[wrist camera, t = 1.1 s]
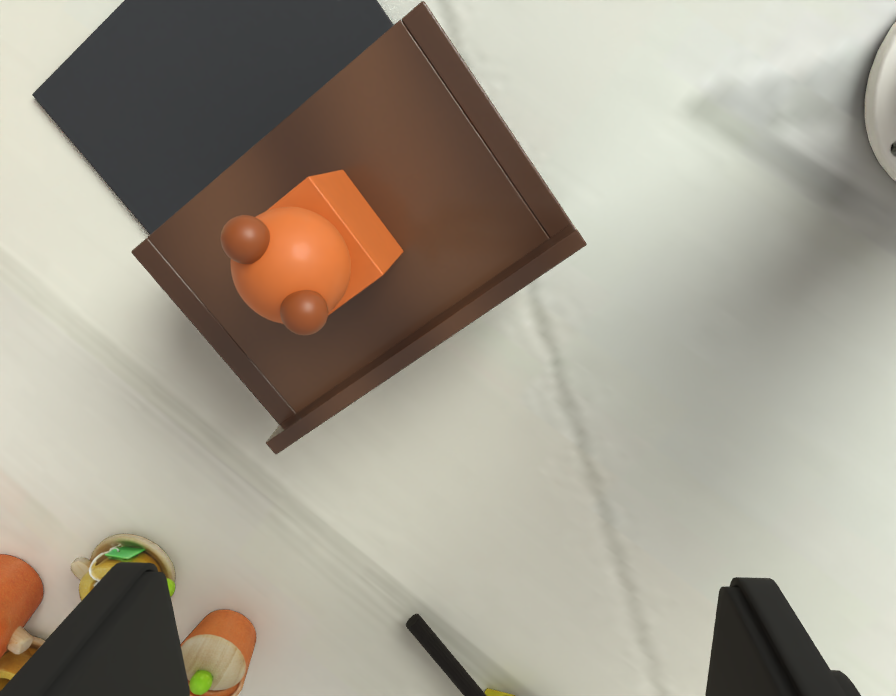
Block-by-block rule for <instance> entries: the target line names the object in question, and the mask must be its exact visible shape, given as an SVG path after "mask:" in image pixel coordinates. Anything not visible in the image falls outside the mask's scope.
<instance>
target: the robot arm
mask: <svg viewBox="0 0 896 696" xmlns="http://www.w3.org/2000/svg"><path fill="white" fill-rule="evenodd" d="M865 124H866V129H867V134H868V138H869V143H870V145H871V147H872V149H873V151H874V154H875V156H876V158H877V160H878V162H879V163H880V164H881V166H882V167H883V168H884V169H885V171H886V172H887V173H888V175H889V176H890V177H891V178H892V179H894V180H895V181H896V22H895V23H894V24H893V25H892V27H891V28H890V30H889V32H888V34H887V35H886V37H885V39H884V41H883V43H882V44H881V46H880V48H879V50H878V52H877V55H876V57H875V60H874V63H873V65H872V68H871V71H870V74H869V78H868V83H867V89H866V94H865ZM892 144H893V146H894V147H893V150H892V151H890V148H891V145H892ZM0 696H190V689H189V684H188V679H187V674H186V669H185V665H184V660H183V655H182V650H181V645H180V640H179V636H178V631H177V626H176V621H175V616H174V612H173V607H172V602H171V597H170V592H169V588H168V583H167V578H166V576H165V574H164V573H163V572H158V569H157V567H156V566H155V564H153V563H141V562H120V563H116V564H115V565H114V566H113V567H112V568H111V569H110V570H109V571H108V572H107V573H106V574H105V576H104V577H103V578H102V579H101V580H100V581H99V582H98V583H97V584H96V586H95V587H94V588H93V589H92V590H91V591H90V592H89V593H88V594H87V596H86V597H85V598H84V599H83V600H82V601H81V602H80V603H79V604H78V606H77V607H76V608H75V609H74V610H73V611H72V612H71V613H70V614H69V616H68V617H67V618H66V619H65V620H64V621H63V622H62V623H61V624H60V625H59V627H58V628H57V629H56V630H55V631H54V632H53V633H52V634H51V635H50V637H49V638H48V639H47V640H46V641H45V642H44V643H43V644H42V645H41V647H40V648H39V649H38V650H37V651H36V652H35V653H34V654H33V655H32V657H31V658H30V659H29V660H28V661H27V662H26V663H25V664H24V665H23V667H22V668H21V669H20V670H19V671H18V672H17V673H16V674H15V675H14V677H13V678H12V679H11V680H10V681H9V682H8V683H7V684H6V685H5V687H4V688H3V689H2V690H1V691H0ZM706 696H861V695H860V693H859V692H858V690H857V689H856V687H855V686H854V684H853V683H852V682H851V681H850V679H849V678H848V677H847V676H846V675H845V674H843V673H842V672H840V671H836V670H830V669H829V667H828V665H827V664H826V662H825V660H824V659H823V657H822V656H821V654H820V652H819V651H818V649H817V648H816V646H815V644H814V643H813V641H812V640H811V638H810V636H809V635H808V633H807V632H806V630H805V628H804V627H803V625H802V624H801V622H800V620H799V619H798V617H797V616H796V614H795V612H794V611H793V609H792V608H791V606H790V604H789V603H788V601H787V600H786V598H785V596H784V595H783V593H782V592H781V590H780V588H779V587H778V585H777V584H776V583H775V581H774V580H772V579H770V578H737V577H736V578H733V579H732V581H731V583H730V587H721V589H720V591H719V596H718V604H717V612H716V619H715V627H714V635H713V642H712V650H711V658H710V665H709V673H708V681H707V688H706Z"/></svg>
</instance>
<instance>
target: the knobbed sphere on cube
mask: <svg viewBox="0 0 896 696" xmlns="http://www.w3.org/2000/svg"><path fill="white" fill-rule="evenodd" d="M221 245H222V248H223V250H224V252H225V253H226V255H227V256H228V257H229V258H231V274H232V278H233V282H234V285H235V287H236V289H237V291H238V293H239V295H240V296H241V298H242V299H243V300H244V302H245V303H246V304H247V305H248V306H249V307H250V308H251V309H252V310H253V311H255V312H256V313H257V314H259V315H260V316H262V317H264V318H266V319H268V320H271V321H273V322H277V323H281V324H284V325H285V326H286V328H287V329H289V330H290V331H291V332H293V333H295V334H298V335H311V334H314V333H316V332H318V331H319V330H320V329H322V327H323V326H324V325H325V323H326V321H327V318H328V315H330V314H331V313H333V312H334V311H335V310H337V309H338V308H339V307H341V306H342V305H343V304H345V303H346V302H348V301H349V300H350V299H352V298H353V297H354V296H356V295H357V294H358V293H360V292H361V291H363V290H364V289H365V288H367V287H368V286H369V285H371V284H372V283H374V282H375V281H376V280H378V279H379V278H380V277H382V276H383V275H384V274H385V273H386V272H387V270H388V269H389V268H390V267H391V266H392V265H393V263H394V262H395V261H396V260H397V259H398V258H399V257H400V255H401V254H402V253H403V252H404V251H403V249H402V248H401V247H400V245H399V244H398V243H397V241H396V240H395V239H394V237H393V236H392V235H391V233H390V232H389V231H388V229H387V228H386V227H385V225H384V224H383V223H382V221H381V220H380V219H379V217H378V216H377V215H376V213H375V212H374V211H373V209H372V208H371V207H370V205H369V204H368V203H367V201H366V200H365V198H364V197H363V196H362V194H361V193H360V192H359V190H358V189H357V188H356V186H355V185H354V184H353V182H352V181H351V180H350V178H349V177H348V176H347V174H346V173H345V172H344V170H338V171H333V172H328V173H324V174H319V175H314V176H309V177H307V178H306V179H305V180H303V181H302V182H301V183H300V184H298V185H297V186H296V187H295V188H294V189H292V190H291V191H290V192H289V193H287V194H286V195H285V196H284V197H283V198H281V199H280V200H279V201H278V202H276V203H275V204H274V205H273V206H272V207H270V208H269V209H268V210H267V211H265V212H263V213H261V214H259V215H258V216H256V217H253V216H249V215H240V216H236V217H234V218H232V219H230V220H229V221H228V222H227V223H226V224H225V225H224V227H223V229H222V232H221Z"/></svg>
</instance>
